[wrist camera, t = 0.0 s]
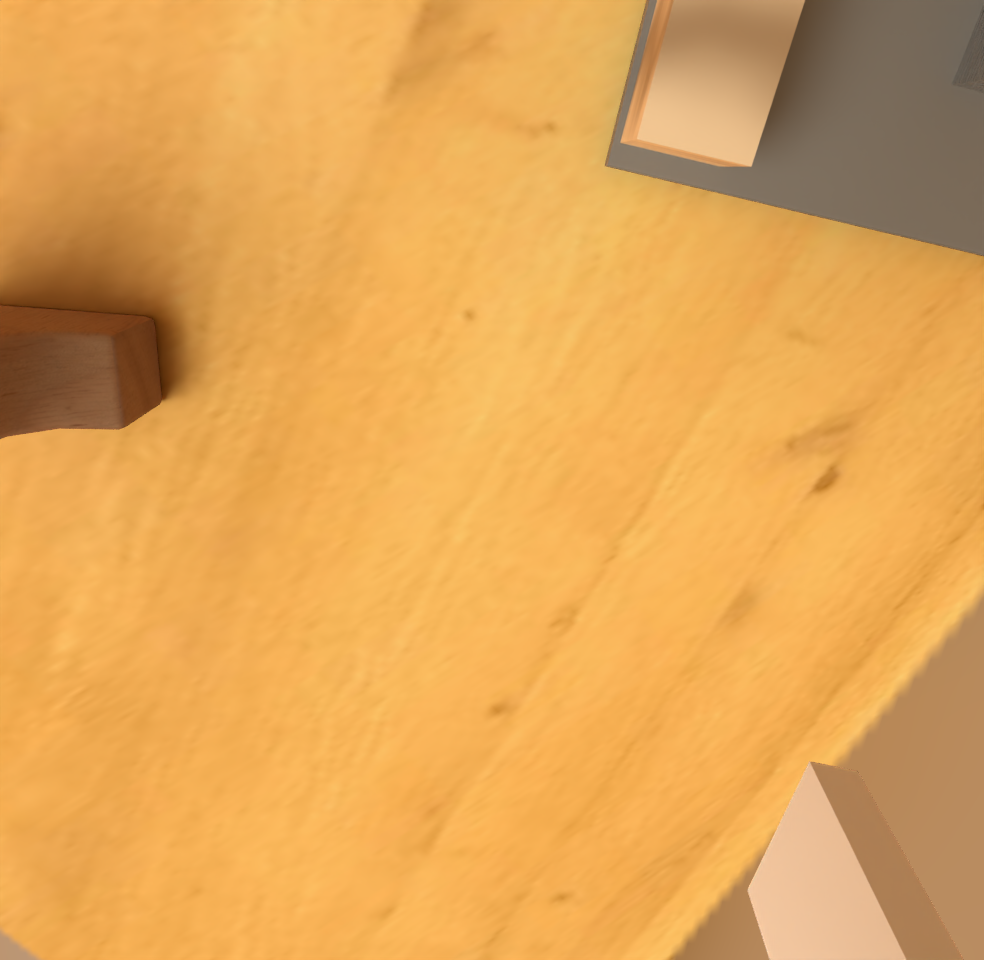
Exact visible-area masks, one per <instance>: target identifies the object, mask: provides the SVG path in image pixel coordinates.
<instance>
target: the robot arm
mask: <svg viewBox="0 0 984 960" xmlns="http://www.w3.org/2000/svg"><path fill="white" fill-rule="evenodd" d="M748 893H749V896H750V899H751V902H752V905H753V909H754V912H755V915H756V918H757V922H758V925H759V928H760V931H761V934H762V937H763V940H764V944H765V947H766V950H767V953H768V956H769V959H770V960H964V959H963V957H962V956H961V954H960V952H959V950H958V949H957V947H956V945H955V943H954V942H953V940H952V938H951V936H950V934H949V932H948V931H947V929H946V927H945V925H944V924H943V922H942V920H941V918H940V917H939V915H938V913H937V911H936V909H935V908H934V906H933V904H932V902H931V900H930V899H929V897H928V895H927V893H926V891H925V890H924V888H923V886H922V884H921V883H920V881H919V879H918V877H917V876H916V874H915V872H914V870H913V868H912V867H911V865H910V863H909V861H908V860H907V858H906V856H905V854H904V852H903V850H902V849H901V847H900V845H899V843H898V842H897V840H896V838H895V836H894V834H893V833H892V831H891V830H890V827H889V826H888V824H887V822H886V820H885V818H884V817H883V815H882V813H881V811H880V810H879V808H878V806H877V804H876V802H875V801H874V799H873V797H872V795H871V793H870V792H869V790H868V788H867V786H866V785H865V783H864V781H863V779H862V778H861V776H860V774H859V772H858V771H855V770H850V769H845V768H840V767H835V766H830V765H825V764H820V763H815V762H810V761H809V763H808V766H807V768H806V770H805V772H804V774H803V776H802V778H801V780H800V782H799V784H798V786H797V788H796V790H795V792H794V795H793V797H792V799H791V801H790V803H789V805H788V807H787V809H786V811H785V813H784V815H783V817H782V819H781V822H780V824H779V826H778V828H777V830H776V832H775V834H774V836H773V838H772V840H771V842H770V844H769V846H768V848H767V851H766V853H765V855H764V857H763V859H762V861H761V863H760V865H759V867H758V869H757V871H756V873H755V875H754V877H753V880H752V882H751V884H750V886H749V888H748Z"/></svg>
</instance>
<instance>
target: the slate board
mask: <svg viewBox="0 0 984 960" xmlns="http://www.w3.org/2000/svg"><path fill="white" fill-rule="evenodd" d="M656 2H657V0H647V1H646V5H645V9H644V13H643V17H642V21H641V25H640V29H639V33H638V37H637V41H636V45H635V49H634V53H633V56H632V60H631V64H630V68H629V72H628V76H627V80H626V84H625V88H624V92H623V96H622V100H621V104H620V108H619V112H618V115H617V119H616V123H615V127H614V131H613V135H612V139H611V143H610V147H609V151H608V155H607V159H606V163H605V166H607V167H611V168H616V169H620V170H624V171H628V172H633V173H637V174H641V175H645V176H649V177H654V178H658V179H662V180H666V181H670V182H675V183H679V184H683V185H687V186H691V187H696V188H700V189H704V190H708V191H712V192H717V193H721V194H725V195H729V196H733V197H738V198H742V199H746V200H750V201H754V202H759V203H763V204H767V205H771V206H775V207H780V208H784V209H788V210H792V211H796V212H801V213H805V214H809V215H813V216H817V217H822V218H826V219H830V220H834V221H838V222H843V223H847V224H851V225H855V226H859V227H864V228H868V229H872V230H876V231H880V232H885V233H889V234H893V235H897V236H901V237H906V238H910V239H914V240H918V241H922V242H927V243H931V244H935V245H939V246H943V247H948V248H952V249H956V250H960V251H964V252H969V253H973V254H977V255H981V256H984V93H981V92H977V91H973V90H969V89H965V88H961V87H957V86H953V85H952V83H953V80H954V78H955V75H956V73H957V70H958V68H959V65H960V63H961V60H962V58H963V55H964V53H965V50H966V48H967V45H968V43H969V40H970V38H971V35H972V33H973V30H974V28H975V25H976V23H977V20H978V18H979V15H980V13H981V10H982V8H983V5H984V0H805V2H804V5H803V8H802V11H801V14H800V18H799V21H798V24H797V27H796V30H795V33H794V36H793V39H792V42H791V45H790V49H789V52H788V55H787V58H786V61H785V64H784V67H783V70H782V73H781V76H780V80H779V83H778V86H777V89H776V92H775V95H774V98H773V101H772V104H771V107H770V111H769V114H768V117H767V120H766V123H765V126H764V129H763V132H762V135H761V138H760V142H759V145H758V148H757V151H756V154H755V157H754V160H753V163H752V166H751V167H719V166H715V165H710V164H706V163H702V162H698V161H694V160H690V159H685V158H681V157H677V156H673V155H669V154H665V153H660V152H656V151H652V150H648V149H644V148H639V147H635V146H631V145H627V144H623V143H620V142H621V138H622V134H623V130H624V126H625V122H626V118H627V114H628V111H629V107H630V103H631V99H632V95H633V91H634V87H635V84H636V80H637V76H638V72H639V68H640V64H641V60H642V56H643V53H644V49H645V45H646V41H647V37H648V33H649V29H650V26H651V22H652V18H653V14H654V10H655V6H656Z"/></svg>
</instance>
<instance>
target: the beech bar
mask: <svg viewBox="0 0 984 960" xmlns="http://www.w3.org/2000/svg"><path fill="white" fill-rule="evenodd" d="M804 2H805V0H657V2H656V6H655V10H654V14H653V18H652V22H651V26H650V29H649V33H648V37H647V41H646V45H645V49H644V53H643V56H642V60H641V64H640V68H639V72H638V76H637V80H636V84H635V87H634V91H633V95H632V99H631V103H630V107H629V111H628V114H627V118H626V122H625V126H624V130H623V134H622V138H621V142H620V143H623V144H627V145H631V146H635V147H639V148H644V149H648V150H652V151H656V152H660V153H665V154H669V155H673V156H677V157H681V158H685V159H690V160H694V161H698V162H702V163H706V164H710V165H715V166H719V167H751V166H752V163H753V160H754V157H755V154H756V151H757V148H758V145H759V142H760V138H761V135H762V132H763V129H764V126H765V123H766V120H767V117H768V114H769V111H770V107H771V104H772V101H773V98H774V95H775V92H776V89H777V86H778V83H779V80H780V76H781V73H782V70H783V67H784V64H785V61H786V58H787V55H788V52H789V49H790V45H791V42H792V39H793V36H794V33H795V30H796V27H797V24H798V21H799V18H800V14H801V11H802V8H803V5H804Z"/></svg>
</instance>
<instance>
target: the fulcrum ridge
mask: <svg viewBox="0 0 984 960" xmlns="http://www.w3.org/2000/svg"><path fill="white" fill-rule="evenodd" d="M952 85H953V86H957V87H961V88H965V89H969V90H973V91H977V92H981V93H984V5H983V8H982V10H981V13H980V15H979V18H978V20H977V23H976V25H975V28H974V30H973V33H972V35H971V38H970V40H969V43H968V45H967V48H966V50H965V53H964V55H963V58H962V60H961V63H960V65H959V68H958V70H957V73H956V75H955V78H954V80H953V83H952Z"/></svg>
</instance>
